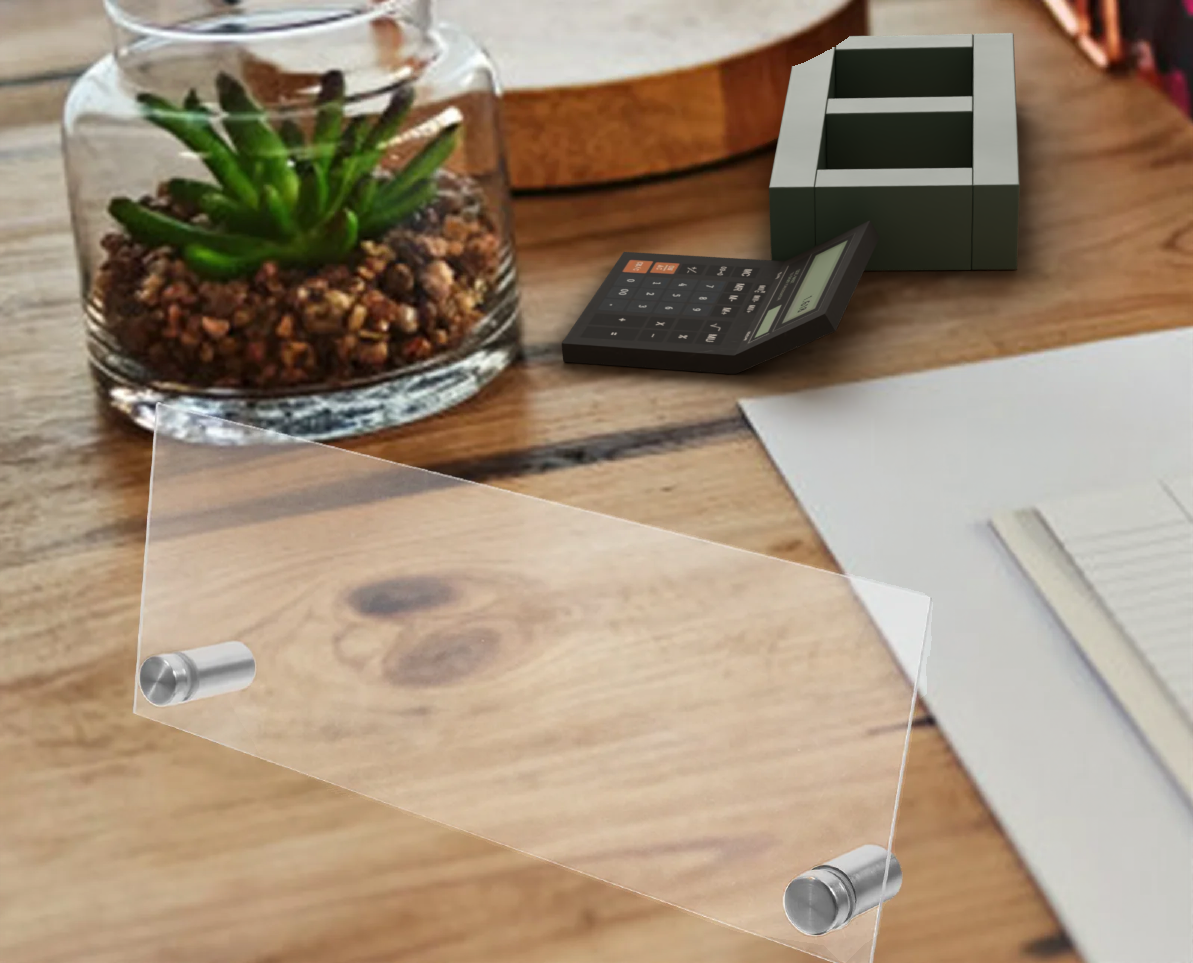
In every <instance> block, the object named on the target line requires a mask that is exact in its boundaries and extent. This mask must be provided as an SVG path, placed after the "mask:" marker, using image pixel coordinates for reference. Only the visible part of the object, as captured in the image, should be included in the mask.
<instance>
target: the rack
mask: <svg viewBox="0 0 1193 963" xmlns="http://www.w3.org/2000/svg"><path fill="white" fill-rule="evenodd" d="M1014 36H1015V34H1014V33H1013V32H999V33H998V32H994V33H993V32H991V33H990V32H989V33H985V32H984V33H947V34H945V33H944V34H943V33H942V34H941V33H940V34H904V35H903V34H899V35H898V34H895V35H849V37H848V38H847V39H845V40H844V41H842V42H841V43H839V44H838V45H836V47H832V49H830V50H827V51H825V52H824V53H822V54H820V55H818V56H816V57H814V58H812V59H810V60H808V61H806V62H804V63H801V64H798V65H795V66H792V65H791V69H790V74H789V80H788V85H787V90H786V96H785V102H784V106H783V112H782V117H781V121H780V128H779V132H778V137H777V144H776V149H775V154H774V160H773V164H772V170H771V175H770V179H769V185H768V202H769V203H768V204H769V206H768V207H769V237H770V238H769V241H770V243H769V244H770V260H774V261H787V260H789V259H791V258H793V257H795V256H797V255H799V254H801V253H803V252H805V251H807V250H809V249H812V248H814V247H816V246H818V245H820V244H822V243H824V242H826V241H828V240H830V239H832V238H834V237H837V236H839V235H841V234H843V233H845V232H847V231H849V230H851V229H853V228H855V227H857V226H859V225H862V224H864V223H866V222H868V221H871V223H872V225H873V226H874V228H875V230H876V231H877V233H878V235H879V236H880V238H879V240H878V242H877V244H876V246H875V248H874V250H873V252H872V255H871V257H870V259H869V261H868V263H867V265H866V267H865V270H864V272H865V271H869V272H871V271H874V272H875V271H971V270H972V271H980V270H981V271H985V270H987V271H989V270H990V271H992V270H993V271H994V270H995V271H997V270H1001V271H1002V270H1005V271H1007V270H1008V271H1009V270H1013V271H1014V270H1015V271H1016V270H1018V261H1019V260H1018V257H1019V255H1018V254H1019V228H1020V227H1019V225H1020V197H1021V196H1020V194H1021V193H1020V192H1021V182H1020V180H1021V179H1020V157H1019V132H1018V106H1017V105H1018V104H1017V83H1016V82H1017V80H1016V58H1015V37H1014Z"/></svg>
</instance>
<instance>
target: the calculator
mask: <svg viewBox="0 0 1193 963" xmlns="http://www.w3.org/2000/svg"><path fill="white" fill-rule="evenodd" d="M879 238H880V236H879V235H878V233H877V231H876V230H875V228H874V226H873V225H872V223H871V221H868V222H866V223H864V224H862V225H859V226H857V227H855V228H853V229H851V230H849V231H847V232H845V233H843V234H841V235H839V236H837V237H834V238H832V239H830V240H828V241H826V242H824V243H822V244H820V245H818V246H816V247H814V248H812V249H809V250H807V251H805V252H803V253H801V254H799V255H797V256H795V257H793V258H791V259H789V260H787V261H774V260H771V259H753V258H737V257H723V256H721V257H718V256H703V255H689V254H688V255H687V254H671V253H670V254H668V253H652V252H651V253H650V252H638V251H637V252H634V251H623V252H622V254H621V255H620V256H619V258H618V259H617V261H616V262H615V263H614V265H613V266H612V268H611V269H610V271H609V273H608V274H607V276H606V277H605V278H604V280H603V281H602V283H601V284H600V286H599V288H598V289H597V290H596V292H595V293H594V295H593V297H592V298H591V299H590V300H589V302H588V303H587V305H586V307H585V308H584V310H583V311H582V313H580V315H579V317H578V318H577V319H576V321H575V322H574V324H573V326H571V328H570V329H569V332H568V333H567V335H566V336H565V337H564V339H563V340H562V342H561V352H562V362H563V363H574V364H575V363H576V364H589V365H591V364H592V365H601V366H604V365H605V366H617V367H618V366H619V367H631V368H644V369H645V368H646V369H658V370H673V371H684V372H685V371H686V372H698V373H702V372H703V373H713V374H727V375H736V374H739V373H741V372H743V371H746V370H748V369H750V368H753V367H755V366H757V365H760V364H762V363H764V362H767V361H770V360H772V359H774V358H777V357H779V356H781V355H784V354H786V353H788V352H790V351H793V350H795V349H797V348H800V347H803V346H804V345H806V344H809V343H812V342H814V341H817V340H818V339H821V338H824V337H825V336H828V335H830V334H832V333H835V332H837V329H838V327H839V325H840V323H841V320H842V318H843V317H844V315H845V312H846V310H847V309H848V308H847V307H848V306H849V304H850V301H851V299H852V298H853V295H854V293H855V291H856V289H857V286H858V284H859V283H860V280H861V278H862V276H863V273H864V272H865V271H864V270H865V267H866V265H867V263H868V261H869V259H870V257H871V255H872V252H873V250H874V248H875V246H876V244H877V242H878V240H879Z"/></svg>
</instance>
